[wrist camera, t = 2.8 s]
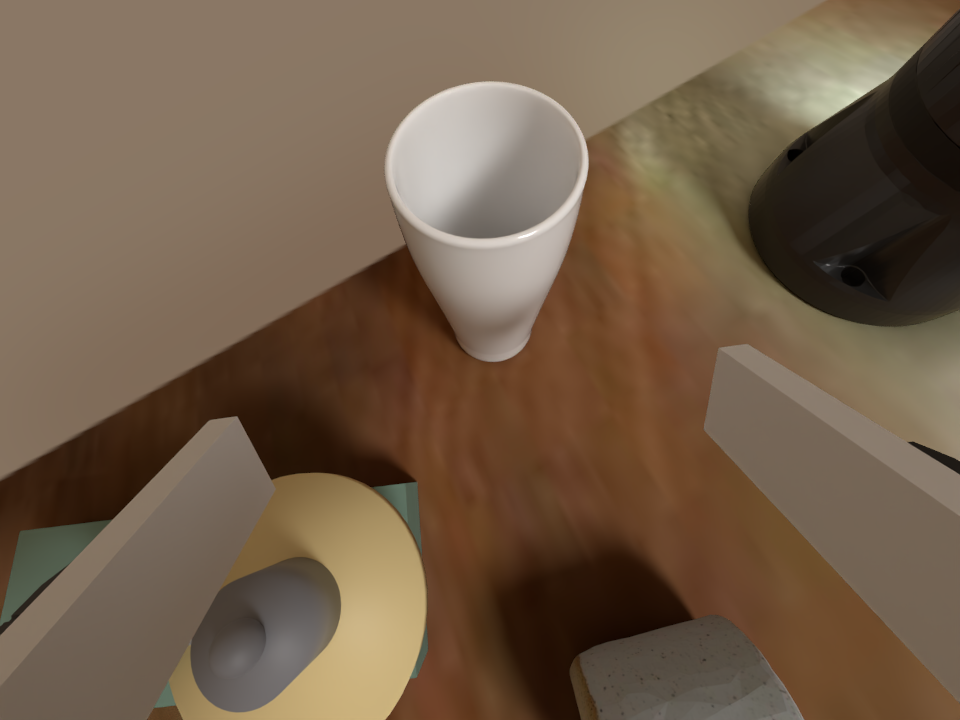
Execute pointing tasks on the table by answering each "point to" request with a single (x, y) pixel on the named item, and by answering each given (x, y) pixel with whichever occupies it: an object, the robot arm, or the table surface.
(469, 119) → the white cup
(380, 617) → the balance
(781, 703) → the ceramic mug
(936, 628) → the robot arm
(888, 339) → the table surface
